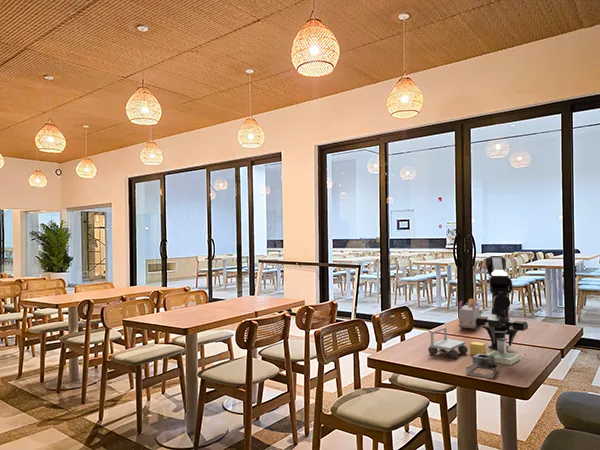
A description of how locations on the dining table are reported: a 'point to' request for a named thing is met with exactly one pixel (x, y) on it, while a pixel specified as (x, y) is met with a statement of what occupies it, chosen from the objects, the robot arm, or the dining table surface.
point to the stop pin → (501, 347)
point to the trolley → (447, 345)
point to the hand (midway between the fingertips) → (501, 344)
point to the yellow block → (477, 348)
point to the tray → (509, 361)
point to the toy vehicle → (468, 314)
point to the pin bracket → (483, 358)
